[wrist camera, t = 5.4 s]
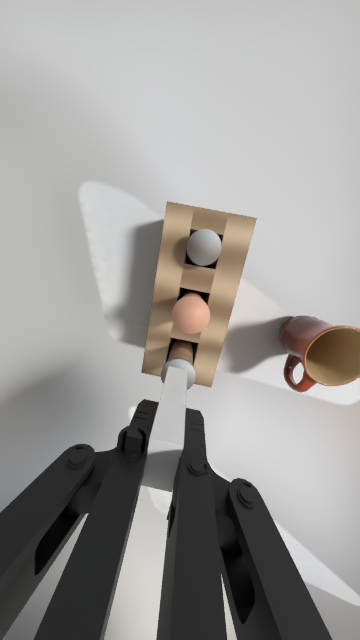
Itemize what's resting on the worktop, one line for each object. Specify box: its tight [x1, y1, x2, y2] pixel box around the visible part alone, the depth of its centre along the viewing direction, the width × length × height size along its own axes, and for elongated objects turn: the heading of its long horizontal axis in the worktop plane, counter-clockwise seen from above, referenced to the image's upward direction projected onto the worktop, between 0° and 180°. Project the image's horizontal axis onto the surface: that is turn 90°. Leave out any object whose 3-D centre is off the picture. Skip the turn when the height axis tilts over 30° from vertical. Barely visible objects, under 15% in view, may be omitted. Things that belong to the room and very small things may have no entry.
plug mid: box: [172, 292, 210, 334], centre depth 25 cm, size 4×4×9 cm
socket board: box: [142, 202, 257, 387], centre depth 31 cm, size 26×12×7 cm, turn 169°
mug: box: [279, 316, 360, 392], centre depth 30 cm, size 12×9×10 cm
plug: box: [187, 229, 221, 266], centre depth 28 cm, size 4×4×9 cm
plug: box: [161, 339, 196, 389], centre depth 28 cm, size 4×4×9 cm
